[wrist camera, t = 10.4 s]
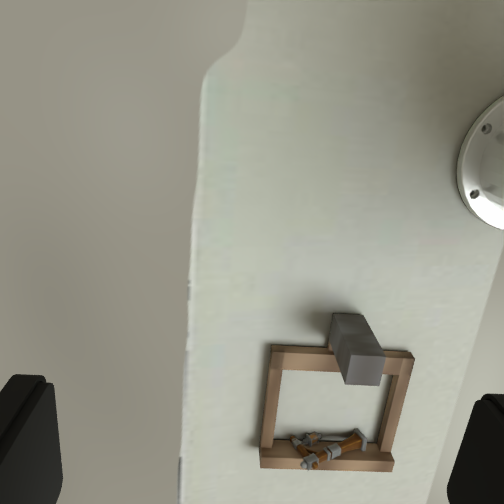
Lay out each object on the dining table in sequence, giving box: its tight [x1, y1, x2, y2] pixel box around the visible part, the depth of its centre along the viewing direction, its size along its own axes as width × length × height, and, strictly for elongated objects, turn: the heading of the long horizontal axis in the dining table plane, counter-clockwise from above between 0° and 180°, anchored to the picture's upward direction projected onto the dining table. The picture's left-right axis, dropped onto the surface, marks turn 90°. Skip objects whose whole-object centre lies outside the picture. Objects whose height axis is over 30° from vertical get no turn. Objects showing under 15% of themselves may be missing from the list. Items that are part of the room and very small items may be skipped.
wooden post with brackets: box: [290, 428, 367, 471], centre depth 48 cm, size 2×8×4 cm, turn 89°
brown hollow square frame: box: [259, 313, 415, 472], centre depth 43 cm, size 14×18×7 cm
